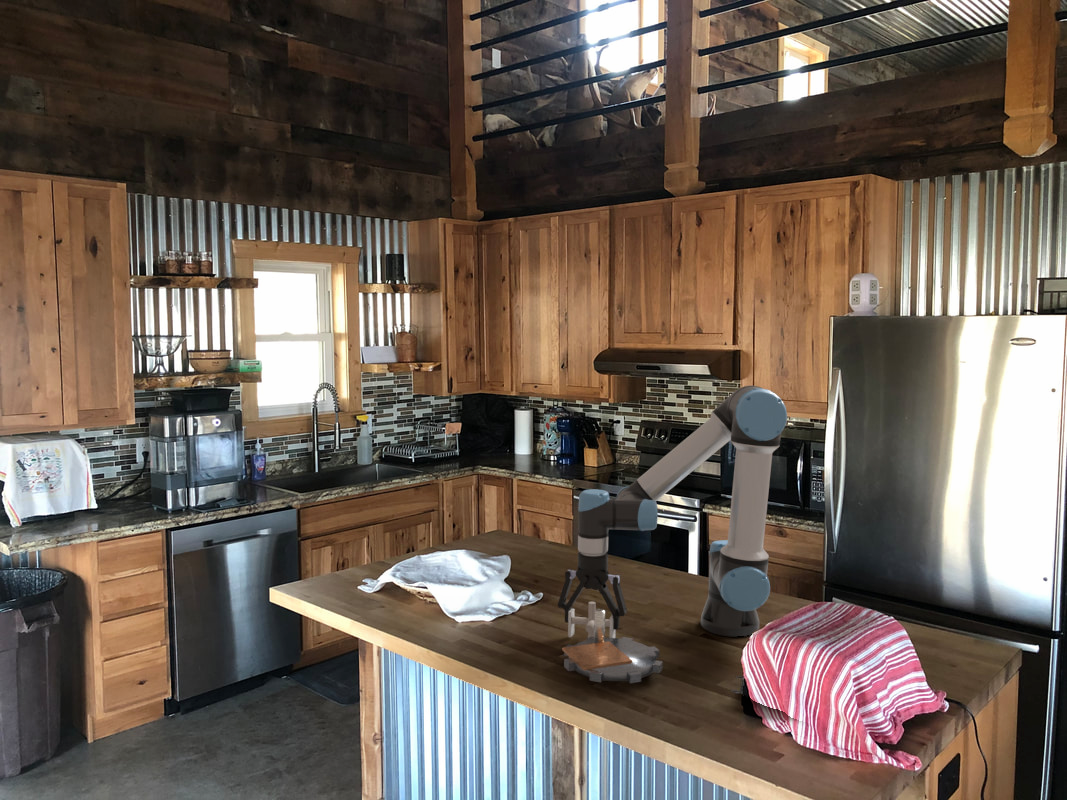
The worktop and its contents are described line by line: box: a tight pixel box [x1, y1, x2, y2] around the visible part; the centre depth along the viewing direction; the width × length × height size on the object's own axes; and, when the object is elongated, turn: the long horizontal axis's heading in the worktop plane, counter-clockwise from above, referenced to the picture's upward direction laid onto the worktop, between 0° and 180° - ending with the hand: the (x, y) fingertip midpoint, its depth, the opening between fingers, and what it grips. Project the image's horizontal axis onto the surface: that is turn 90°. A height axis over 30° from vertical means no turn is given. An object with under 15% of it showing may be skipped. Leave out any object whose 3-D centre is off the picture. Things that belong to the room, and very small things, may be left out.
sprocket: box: [561, 608, 664, 684], centre depth 196 cm, size 23×23×10 cm
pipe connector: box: [572, 601, 610, 637], centre depth 214 cm, size 10×10×10 cm
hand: (591, 638), depth 215 cm, fingers closed on pipe connector, 10 cm apart
